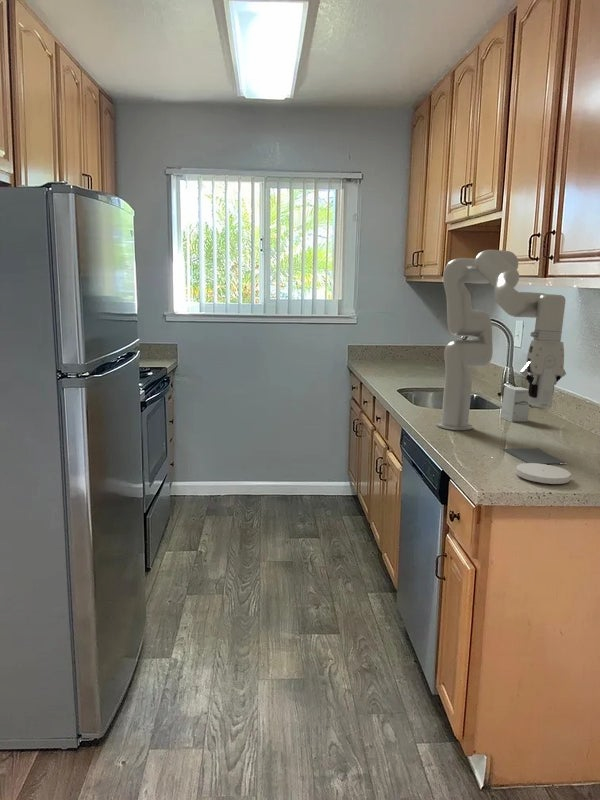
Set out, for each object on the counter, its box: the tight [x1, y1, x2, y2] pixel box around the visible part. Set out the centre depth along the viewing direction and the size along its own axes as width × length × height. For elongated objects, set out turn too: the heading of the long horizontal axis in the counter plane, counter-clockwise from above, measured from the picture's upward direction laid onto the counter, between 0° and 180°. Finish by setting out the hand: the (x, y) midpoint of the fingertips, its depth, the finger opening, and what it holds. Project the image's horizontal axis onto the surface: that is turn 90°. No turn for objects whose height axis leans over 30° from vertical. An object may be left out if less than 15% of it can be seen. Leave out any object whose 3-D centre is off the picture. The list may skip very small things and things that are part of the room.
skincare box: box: [528, 368, 555, 409], centre depth 192 cm, size 6×4×12 cm
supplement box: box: [500, 386, 530, 423], centre depth 249 cm, size 7×7×13 cm
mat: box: [502, 447, 567, 465], centre depth 196 cm, size 16×12×1 cm
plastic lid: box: [515, 462, 572, 485], centre depth 175 cm, size 14×14×2 cm
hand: (540, 396), depth 193 cm, fingers closed on skincare box, 4 cm apart
